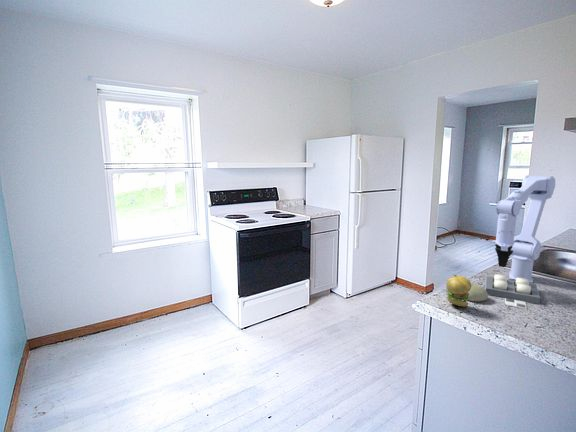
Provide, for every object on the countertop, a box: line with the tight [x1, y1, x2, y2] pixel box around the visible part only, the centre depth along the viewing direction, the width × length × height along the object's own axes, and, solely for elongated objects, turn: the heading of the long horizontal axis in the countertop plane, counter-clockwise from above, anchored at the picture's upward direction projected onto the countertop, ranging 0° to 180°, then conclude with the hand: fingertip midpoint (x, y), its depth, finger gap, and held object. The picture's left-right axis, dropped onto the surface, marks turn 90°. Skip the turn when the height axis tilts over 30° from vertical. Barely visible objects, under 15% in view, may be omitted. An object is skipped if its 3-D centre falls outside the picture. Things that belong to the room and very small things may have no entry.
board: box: [485, 276, 541, 305], centre depth 120 cm, size 15×16×2 cm
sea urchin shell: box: [467, 283, 489, 303], centre depth 115 cm, size 9×8×8 cm
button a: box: [493, 273, 508, 282], centre depth 124 cm, size 4×4×3 cm
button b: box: [494, 280, 508, 291], centre depth 118 cm, size 4×4×3 cm
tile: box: [504, 298, 528, 310], centre depth 110 cm, size 6×6×1 cm
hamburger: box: [446, 274, 472, 308], centre depth 107 cm, size 8×7×12 cm
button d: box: [516, 283, 531, 295], centre depth 115 cm, size 4×4×3 cm
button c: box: [515, 278, 531, 286], centre depth 120 cm, size 4×4×3 cm
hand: (502, 264), depth 123 cm, fingers open, 5 cm apart
